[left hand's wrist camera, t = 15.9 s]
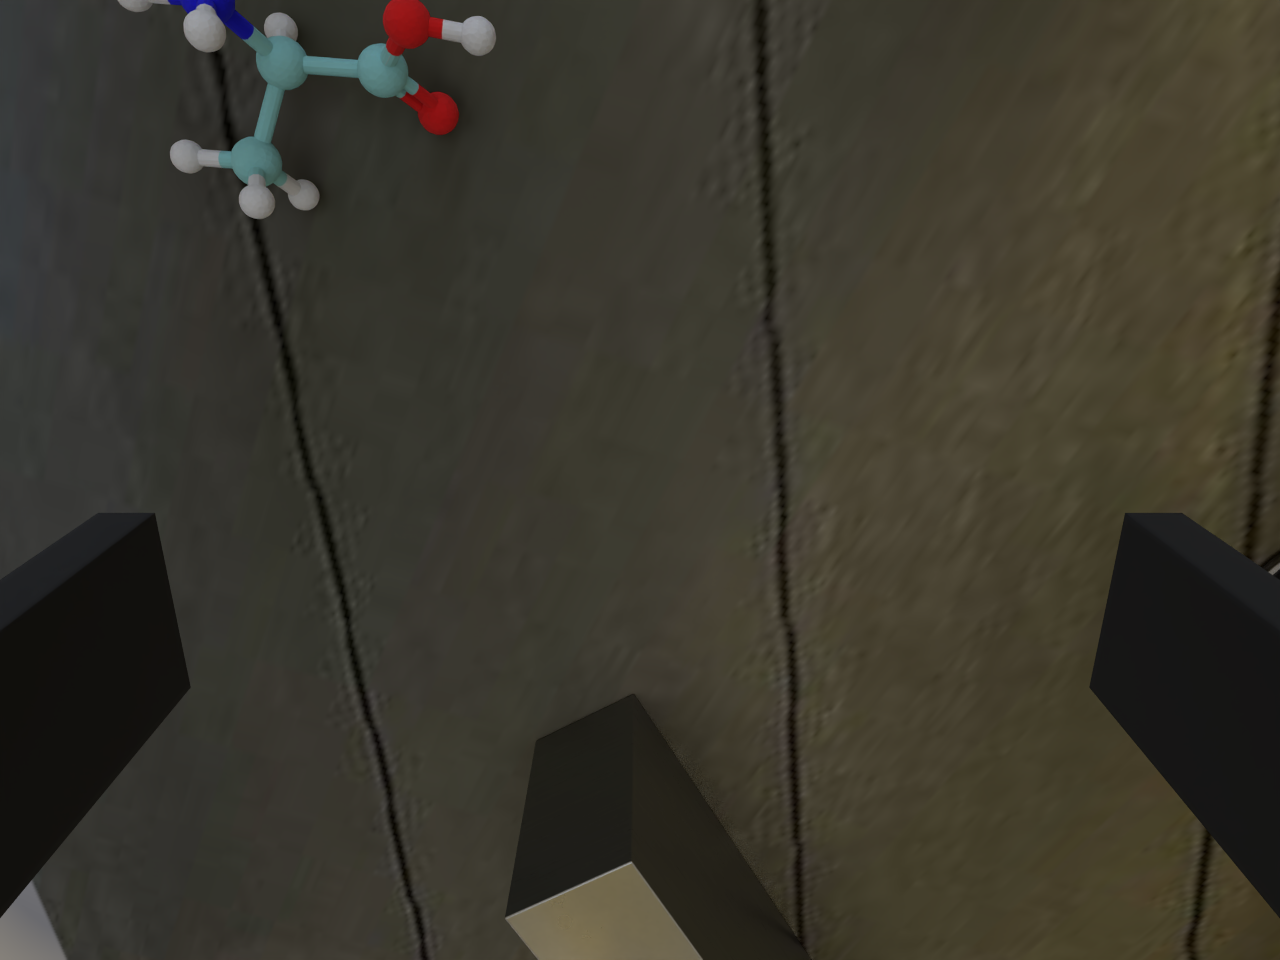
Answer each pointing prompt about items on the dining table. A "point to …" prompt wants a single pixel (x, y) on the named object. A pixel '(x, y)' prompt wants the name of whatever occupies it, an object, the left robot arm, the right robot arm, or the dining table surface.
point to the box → (632, 855)
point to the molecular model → (290, 67)
